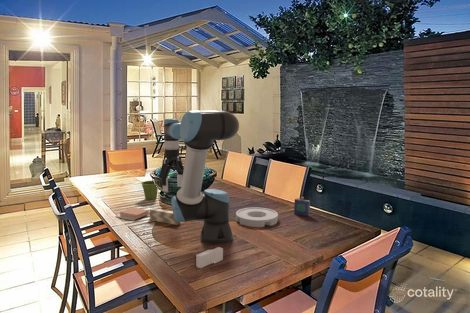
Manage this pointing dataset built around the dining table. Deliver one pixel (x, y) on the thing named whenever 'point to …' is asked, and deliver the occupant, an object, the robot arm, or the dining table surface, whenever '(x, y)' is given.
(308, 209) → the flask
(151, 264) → the dining table surface
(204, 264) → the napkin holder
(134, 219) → the mat
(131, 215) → the tile
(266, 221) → the ashtray
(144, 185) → the plant pot
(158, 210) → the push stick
